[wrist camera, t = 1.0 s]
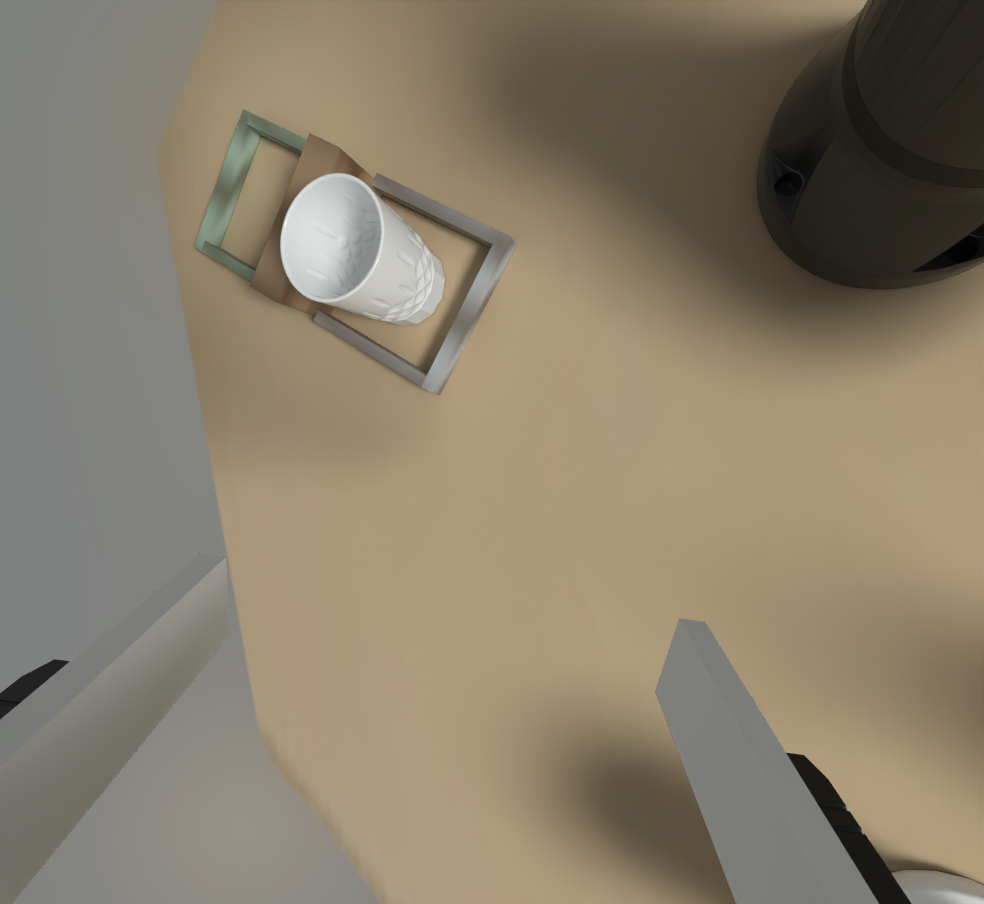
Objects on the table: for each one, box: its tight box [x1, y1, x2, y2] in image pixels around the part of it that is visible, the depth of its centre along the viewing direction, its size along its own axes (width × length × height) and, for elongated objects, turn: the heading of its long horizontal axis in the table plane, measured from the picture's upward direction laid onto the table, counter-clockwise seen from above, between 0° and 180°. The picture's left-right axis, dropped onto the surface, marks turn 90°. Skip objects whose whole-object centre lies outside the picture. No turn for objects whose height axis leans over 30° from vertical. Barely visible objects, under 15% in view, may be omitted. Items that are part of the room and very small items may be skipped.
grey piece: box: [194, 109, 516, 395], centre depth 37 cm, size 13×29×6 cm, turn 60°
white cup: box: [280, 173, 445, 326], centre depth 33 cm, size 8×8×10 cm
